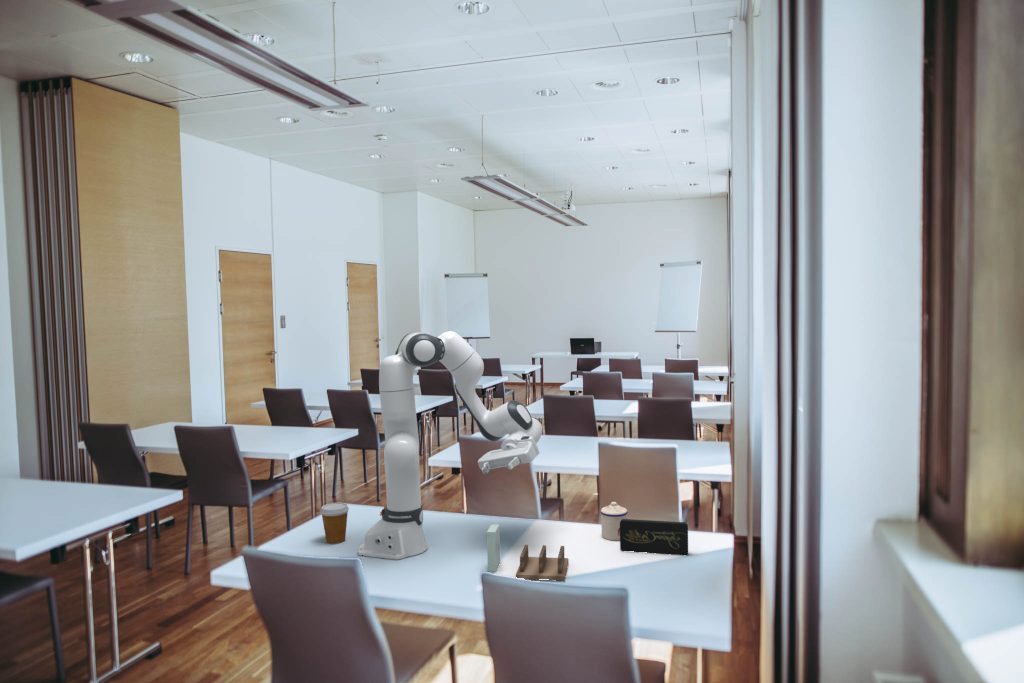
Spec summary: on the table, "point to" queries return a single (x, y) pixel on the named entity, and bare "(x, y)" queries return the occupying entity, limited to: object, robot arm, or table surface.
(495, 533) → the pale green rectangular block
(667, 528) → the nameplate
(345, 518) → the disposable coffee cup
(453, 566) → the table surface
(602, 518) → the teacup with lid
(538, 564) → the slot rack
